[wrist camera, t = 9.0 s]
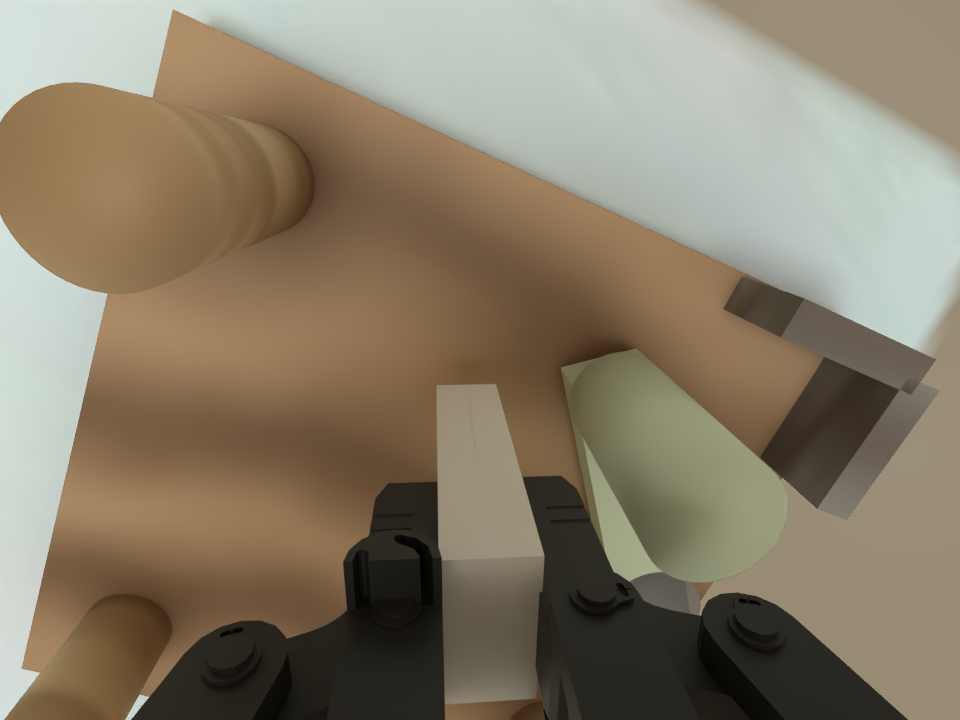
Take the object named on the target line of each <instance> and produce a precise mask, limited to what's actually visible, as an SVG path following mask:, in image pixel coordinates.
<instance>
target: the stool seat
mask: <svg viewBox="0 0 960 720" xmlns="http://www.w3.org/2000/svg"><path fill="white" fill-rule="evenodd" d="M0 215H1V217H2V219H3V221H4V223H5V224H6V226H7V228H8V229H9V231H10V233H11V234H12V235H13V237H14V238H15V239H16V241H17V242H18V243H19V244H20V246H21V247H22V248H23V249H24V250H25V251H26V252H27V253H28V254H29V255H30V256H31V257H32V258H33V259H34V260H36V261H37V262H38V263H39V264H40V265H41V266H43V267H44V268H46V269H47V270H49V271H50V272H51V273H53V274H54V275H56V276H58V277H60V278H62V279H64V280H65V281H67V282H70V283H72V284H75V285H77V286H79V287H82V288H86V289H89V290H92V291H97V292H103V293H108V295H107V299H106V303H105V308H104V312H103V316H102V321H101V325H100V330H99V334H98V338H97V343H96V347H95V351H94V356H93V360H92V364H91V369H90V373H89V378H88V382H87V386H86V391H85V395H84V399H83V404H82V408H81V412H80V417H79V421H78V425H77V430H76V434H75V439H74V443H73V447H72V452H71V456H70V460H69V465H68V469H67V473H66V478H65V482H64V486H63V491H62V495H61V500H60V504H59V508H58V513H57V517H56V521H55V526H54V530H53V534H52V539H51V543H50V547H49V552H48V556H47V561H46V565H45V569H44V574H43V578H42V582H41V587H40V591H39V595H38V600H37V604H36V608H35V613H34V617H33V622H32V626H31V630H30V635H29V639H28V643H27V648H26V652H25V656H24V661H23V665H22V669H26V670H31V671H35V672H40V674H39V676H38V677H37V678H36V679H35V681H34V682H33V683H32V685H31V686H30V687H29V688H28V690H27V691H26V692H25V694H24V695H23V696H22V697H21V699H20V700H19V701H18V703H17V704H16V705H15V707H14V708H13V709H12V710H11V712H10V713H9V714H8V716H7V717H6V718H5V719H4V720H125V719H126V717H127V716H128V714H129V712H130V710H131V708H132V707H133V705H134V703H135V701H136V699H137V698H138V696H139V694H140V695H144V696H149V697H150V696H151V694H152V693H153V692H154V691H155V689H156V688H157V687H158V686H159V684H160V683H161V682H162V681H163V679H164V678H165V677H166V676H167V674H168V673H169V672H170V671H171V669H172V668H173V667H174V666H175V664H176V663H177V662H178V661H179V659H180V658H181V657H182V656H183V654H184V653H185V652H186V651H187V650H188V649H190V648H191V647H192V646H193V645H194V644H195V643H196V642H197V641H198V640H199V639H200V638H202V637H203V636H205V635H207V634H209V633H210V632H212V631H214V630H216V629H217V628H219V627H222V626H225V625H228V624H232V623H235V622H239V621H256V620H261V621H264V622H266V623H269V624H272V625H275V626H277V628H278V629H279V630H280V631H281V632H282V633H283V634H284V635H285V636H286V639H287V638H290V637H294V636H297V635H300V634H303V633H306V632H310V631H313V630H315V629H318V628H320V627H323V626H325V625H327V624H329V623H330V622H332V621H334V620H335V619H337V618H338V617H340V616H341V615H342V614H343V613H344V612H345V611H346V610H347V603H346V592H345V581H344V570H343V561H344V559H345V557H346V555H347V553H348V551H349V549H351V548H352V547H353V546H354V545H355V544H357V543H358V542H359V541H360V540H361V539H363V538H366V537H368V536H369V533H370V526H371V520H372V514H373V509H374V503H375V498H376V497H377V496H378V495H379V493H380V492H381V491H382V490H383V489H384V488H385V486H386V485H387V484H388V483H410V482H438V472H437V386H436V385H469V384H496V386H497V390H498V393H499V397H500V400H501V404H502V408H503V411H504V415H505V418H506V422H507V425H508V429H509V432H510V436H511V439H512V443H513V446H514V450H515V454H516V457H517V461H518V464H519V468H520V471H521V475H522V477H534V476H562V477H563V478H565V479H566V480H567V481H568V482H569V483H570V484H572V485H573V486H574V487H575V488H576V489H577V490H578V492H579V495H580V497H581V499H582V501H583V504H584V508H586V510H587V513H588V515H589V517H590V522H592V521H591V516H590V511H589V506H588V501H587V496H586V491H585V486H584V481H583V476H582V471H581V466H580V461H579V456H578V452H577V447H576V442H575V437H574V432H573V427H572V422H571V417H570V412H569V407H568V402H567V397H566V392H565V387H564V383H563V378H562V373H561V368H560V367H564V366H568V365H572V364H576V363H580V362H584V361H588V360H592V359H596V358H600V357H602V356H604V355H608V354H611V353H616V352H623V351H627V350H631V349H635V348H636V349H637V350H639V351H640V352H641V353H642V354H643V355H644V356H645V357H646V358H647V359H649V360H650V361H652V362H653V363H654V364H655V365H656V366H657V367H658V368H659V369H661V370H662V371H663V372H664V373H665V374H666V375H667V376H668V377H669V378H671V379H672V380H673V381H674V382H675V383H676V384H677V385H678V386H679V387H681V388H682V389H683V390H684V391H685V392H686V393H687V394H688V395H689V396H691V397H692V398H693V399H694V400H695V401H696V402H697V403H698V404H699V405H701V406H702V407H703V408H704V409H705V410H706V411H707V412H708V413H709V414H711V415H712V416H713V417H714V418H715V419H716V420H717V421H718V422H719V423H721V424H722V425H723V426H724V427H725V428H726V429H727V430H728V431H729V432H731V433H732V434H733V435H734V436H735V437H736V438H737V439H738V440H739V441H741V442H742V443H743V444H744V445H745V446H746V447H747V448H748V449H749V450H751V451H752V452H753V453H754V454H755V455H756V456H757V457H758V458H759V459H761V460H762V461H763V462H764V463H765V464H766V465H767V466H768V467H769V468H771V469H772V470H773V471H774V472H775V473H776V474H777V476H778V477H779V478H780V480H781V479H782V478H784V479H785V480H786V481H787V482H788V483H790V485H791V486H793V487H794V488H795V489H796V490H797V491H798V492H799V493H800V494H801V495H803V496H804V497H805V498H806V499H807V500H808V501H809V502H811V503H812V504H813V505H814V506H815V507H816V508H817V509H820V510H822V511H825V512H828V513H831V514H833V515H836V516H839V517H842V518H844V519H847V518H848V517H849V516H850V514H851V513H852V512H853V510H854V509H855V507H856V506H857V504H858V503H859V502H860V500H861V499H862V498H863V496H864V495H865V494H866V492H867V491H868V489H869V488H870V487H871V485H872V484H873V482H874V481H875V480H876V478H877V477H878V475H879V474H880V473H881V471H882V470H883V469H884V467H885V466H886V464H887V463H888V462H889V460H890V459H891V457H892V456H893V455H894V453H895V452H896V451H897V449H898V448H899V446H900V445H901V444H902V442H903V441H904V439H905V438H906V437H907V435H908V434H909V432H910V431H911V430H912V428H913V427H914V426H915V424H916V423H917V421H918V420H919V419H920V417H921V416H922V414H923V413H924V412H925V410H926V409H927V408H928V406H929V405H930V403H931V402H932V401H933V399H934V398H935V396H936V395H937V394H938V392H939V391H938V390H936V389H934V388H931V387H929V386H927V385H925V384H922V383H920V381H921V380H922V379H923V377H924V376H925V374H926V373H927V372H928V370H929V369H930V367H931V366H932V365H933V363H934V362H935V360H936V359H934V358H931V357H929V356H927V355H925V354H923V353H921V352H918V351H916V350H914V349H912V348H910V347H908V346H905V345H903V344H901V343H899V342H897V341H895V340H893V339H890V338H888V337H886V336H884V335H882V334H880V333H877V332H875V331H873V330H871V329H869V328H867V327H864V326H862V325H860V324H858V323H856V322H854V321H851V320H849V319H847V318H845V317H843V316H841V315H839V314H836V313H834V312H832V311H830V310H828V309H826V308H823V307H821V306H819V305H817V304H815V303H813V302H810V301H808V300H806V299H804V298H801V297H798V296H796V295H793V294H790V293H787V292H784V291H782V290H779V289H777V288H775V287H772V286H770V285H768V284H766V283H764V282H762V281H759V280H757V279H755V278H753V277H751V276H749V275H747V274H744V273H742V272H740V271H738V270H736V269H734V268H731V267H729V266H727V265H725V264H723V263H721V262H718V261H716V260H714V259H712V258H710V257H708V256H705V255H703V254H701V253H699V252H697V251H695V250H692V249H690V248H688V247H686V246H684V245H682V244H679V243H677V242H675V241H673V240H671V239H669V238H666V237H664V236H662V235H660V234H658V233H656V232H653V231H651V230H649V229H647V228H645V227H643V226H640V225H638V224H636V223H634V222H632V221H630V220H627V219H625V218H623V217H621V216H619V215H617V214H615V213H612V212H610V211H608V210H606V209H604V208H602V207H599V206H597V205H595V204H593V203H591V202H589V201H586V200H584V199H582V198H580V197H578V196H576V195H573V194H571V193H569V192H567V191H565V190H563V189H560V188H558V187H556V186H554V185H552V184H550V183H547V182H545V181H543V180H541V179H539V178H537V177H534V176H532V175H530V174H528V173H526V172H524V171H521V170H519V169H517V168H515V167H513V166H511V165H508V164H506V163H504V162H502V161H500V160H498V159H495V158H493V157H491V156H489V155H487V154H485V153H483V152H480V151H478V150H476V149H474V148H472V147H470V146H467V145H465V144H463V143H461V142H459V141H457V140H454V139H452V138H450V137H448V136H446V135H444V134H441V133H439V132H437V131H435V130H433V129H431V128H428V127H426V126H424V125H422V124H420V123H418V122H415V121H413V120H411V119H409V118H407V117H405V116H402V115H400V114H398V113H396V112H394V111H392V110H389V109H387V108H385V107H383V106H381V105H379V104H376V103H374V102H372V101H370V100H368V99H366V98H363V97H361V96H359V95H357V94H355V93H353V92H351V91H348V90H346V89H344V88H342V87H340V86H338V85H335V84H333V83H331V82H329V81H327V80H325V79H322V78H320V77H318V76H316V75H314V74H312V73H309V72H307V71H305V70H303V69H301V68H299V67H296V66H294V65H292V64H290V63H288V62H286V61H283V60H281V59H279V58H277V57H275V56H273V55H270V54H268V53H266V52H264V51H262V50H260V49H257V48H255V47H253V46H251V45H249V44H247V43H244V42H242V41H240V40H238V39H236V38H234V37H231V36H229V35H227V34H225V33H223V32H221V31H219V30H216V29H214V28H212V27H210V26H208V25H206V24H203V23H201V22H199V21H197V20H195V19H193V18H190V17H188V16H186V15H184V14H182V13H180V12H177V11H175V10H173V11H172V16H171V20H170V25H169V29H168V33H167V38H166V42H165V46H164V51H163V55H162V59H161V64H160V68H159V72H158V77H157V81H156V86H155V90H154V94H153V98H150V97H146V96H142V95H138V94H134V93H129V92H125V91H121V90H117V89H113V88H109V87H104V86H100V85H95V84H89V83H78V82H76V83H61V84H55V85H50V86H47V87H44V88H41V89H38V90H36V91H34V92H32V93H30V94H28V95H27V96H25V97H23V98H22V99H21V100H20V101H18V102H17V103H16V104H15V105H13V107H12V108H11V109H10V110H9V111H8V112H7V113H6V114H5V116H4V117H3V119H2V121H1V122H0ZM692 583H693V584H694V586H695V588H696V589H697V591H698V594H699V597H700V601H701V599H702V598H703V596H704V595H705V593H706V592H707V590H708V589H709V587H710V586H711V584H712V583H713V582H692ZM542 712H543V702H542V697H541V692H540V687H539V682H538V677H537V695H536V699H523V700H508V701H492V702H477V703H461V704H446V705H445V720H542Z"/></svg>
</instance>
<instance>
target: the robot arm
mask: <svg viewBox="0 0 960 720" xmlns="http://www.w3.org/2000/svg"><path fill="white" fill-rule="evenodd" d="M436 386H437V472H438V482H410V483H388V484H387V485H386V486H385V488H384V489H383V490H382V491H381V492H380V493H379V495H378V496H377V497H376V498H375V503H374V509H373V514H372V520H371V526H370V533H369V536H368V537H366V538H363V539H361V540H360V541H359V542H358V543H357V544H355V545H354V546H353V547H352V548H351V549H349V551H348V553H347V555H346V557H345V559H344V561H343V570H344V581H345V592H346V603H347V610H346V611H345V612H344V613H343V614H342V615H341V616H340V617H338V618H337V619H335V620H334V621H332V622H330V623H329V624H327V625H325V626H323V627H320V628H318V629H315V630H313V631H310V632H306V633H303V634H300V635H297V636H294V637H290V638H287V639H286V636H285V635H284V634H283V633H282V632H281V631H280V630H279V629H278V628H277V626H275V625H272V624H269V623H266V622H264V621H261V620H256V621H239V622H235V623H232V624H228V625H225V626H222V627H219V628H217V629H216V630H214V631H212V632H210V633H209V634H207V635H205V636H203V637H202V638H200V639H199V640H198V641H197V642H196V643H195V644H194V645H193V646H192V647H191V648H190V649H188V650H187V651H186V652H185V653H184V654H183V656H182V657H181V658H180V659H179V661H178V662H177V663H176V664H175V666H174V667H173V668H172V669H171V671H170V672H169V673H168V674H167V676H166V677H165V678H164V679H163V681H162V682H161V683H160V684H159V686H158V687H157V688H156V689H155V691H154V692H153V693H152V694H151V696H150V697H149V698H148V699H147V701H146V702H145V703H144V704H143V706H142V707H141V708H140V709H139V711H138V712H137V713H136V714H135V716H134V717H133V718H132V719H131V720H445V705H446V704H461V703H477V702H492V701H508V700H523V699H536V695H537V677H538V682H539V687H540V692H541V697H542V702H543V712H542V720H908V719H906V718H905V717H904V716H903V715H902V714H901V713H900V712H899V711H898V710H896V709H895V708H894V707H893V706H892V705H891V704H889V702H888V701H886V700H885V699H884V698H883V697H882V696H881V695H880V694H879V693H877V692H876V691H875V690H874V689H873V688H872V687H871V686H870V685H869V684H868V683H866V682H865V681H864V680H863V679H862V678H861V677H860V676H859V675H857V674H856V673H855V672H854V671H853V670H852V669H851V668H850V667H849V666H847V665H846V664H845V663H844V662H843V661H842V660H841V659H840V658H839V657H837V656H836V655H835V654H834V653H833V652H832V651H831V650H830V649H828V648H827V647H826V646H825V645H824V644H823V643H822V642H821V641H820V640H818V639H817V638H816V637H815V636H814V635H813V634H812V633H811V632H810V631H808V630H807V629H806V628H805V627H804V626H803V625H802V624H801V623H799V622H798V621H797V620H796V619H795V618H794V617H793V616H791V615H790V614H788V613H787V612H786V611H784V610H783V609H781V608H780V607H778V606H777V605H775V604H773V603H771V602H769V601H766V600H763V599H761V598H759V597H757V596H752V595H747V594H741V593H728V594H720V595H718V596H716V597H714V598H712V599H710V600H708V602H707V604H706V605H705V607H704V609H703V611H702V616H699V615H694V614H689V613H684V612H679V611H674V610H669V609H665V608H662V607H658V606H655V605H652V604H650V603H648V602H646V601H643V599H642V597H641V595H640V594H639V592H638V591H637V590H636V588H635V587H634V586H633V584H632V583H631V582H629V581H628V580H626V579H625V578H623V577H622V576H621V575H619V574H618V573H615V572H614V571H613V569H612V567H611V565H610V562H609V560H608V558H607V556H606V553H605V551H604V549H603V547H602V544H601V542H600V540H599V537H598V535H597V533H596V531H595V528H594V526H593V524H592V522H590V517H589V515H588V513H587V510H586V508H584V504H583V501H582V499H581V497H580V495H579V492H578V490H577V489H576V488H575V487H574V486H573V485H572V484H570V483H569V482H568V481H567V480H566V479H565V478H563V477H562V476H534V477H522V475H521V471H520V468H519V464H518V461H517V457H516V454H515V450H514V446H513V443H512V439H511V436H510V432H509V429H508V425H507V422H506V418H505V415H504V411H503V408H502V404H501V400H500V397H499V393H498V390H497V386H496V384H469V385H436Z"/></svg>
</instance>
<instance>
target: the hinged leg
mask: <svg viewBox="0 0 960 720" xmlns="http://www.w3.org/2000/svg"><path fill="white" fill-rule="evenodd" d="M560 368H561V373H562V378H563V383H564V387H565V392H566V397H567V402H568V407H569V412H570V417H571V422H572V427H573V432H574V437H575V442H576V447H577V452H578V456H579V461H580V466H581V471H582V476H583V481H584V486H585V491H586V496H587V501H588V506H589V511H590V516H591V521H592V524H593V526H594V528H595V531H596V533H597V535H598V537H599V540H600V542H601V544H602V547H603V549H604V551H605V553H606V556H607V558H608V560H609V562H610V565H611V567H612V569H613V571H614V572H615V573H618V574H619V575H621V576H622V577H623V578H625V579H626V580H628V581H629V582H631V583H632V584H633V586H634V587H635V588H636V590H637V591H638V592H639V594H640V595H641V597H642V599H643V601H646V602H648V603H650V604H652V605H655V606H658V607H662V608H665V609H669V610H674V611H679V612H684V613H689V614H694V615H698V614H699V610H700V597H699V594H698V591H697V589H696V588H695V586H694V584H693V583H692V582H713V581H718V580H722V579H726V578H729V577H732V576H734V575H737V574H739V573H741V572H743V571H745V570H746V569H748V568H750V567H751V566H753V565H754V564H755V563H757V562H758V561H759V560H760V559H762V558H763V557H764V556H765V555H766V554H767V553H768V552H769V551H770V550H771V548H772V547H773V546H774V545H775V543H776V541H777V540H778V538H779V537H780V535H781V533H782V531H783V528H784V525H785V522H786V519H787V513H788V499H787V494H786V491H785V487H784V485H783V483H782V481H781V480H780V478H779V477H778V476H777V474H776V473H775V472H774V471H773V470H772V469H771V468H769V467H768V466H767V465H766V464H765V463H764V462H763V461H762V460H761V459H759V458H758V457H757V456H756V455H755V454H754V453H753V452H752V451H751V450H749V449H748V448H747V447H746V446H745V445H744V444H743V443H742V442H741V441H739V440H738V439H737V438H736V437H735V436H734V435H733V434H732V433H731V432H729V431H728V430H727V429H726V428H725V427H724V426H723V425H722V424H721V423H719V422H718V421H717V420H716V419H715V418H714V417H713V416H712V415H711V414H709V413H708V412H707V411H706V410H705V409H704V408H703V407H702V406H701V405H699V404H698V403H697V402H696V401H695V400H694V399H693V398H692V397H691V396H689V395H688V394H687V393H686V392H685V391H684V390H683V389H682V388H681V387H679V386H678V385H677V384H676V383H675V382H674V381H673V380H672V379H671V378H669V377H668V376H667V375H666V374H665V373H664V372H663V371H662V370H661V369H659V368H658V367H657V366H656V365H655V364H654V363H653V362H652V361H650V360H649V359H647V358H646V357H645V356H644V355H643V354H642V353H641V352H640V351H639V350H637V349H636V348H635V349H631V350H627V351H623V352H616V353H611V354H608V355H604V356H602V357H600V358H596V359H592V360H588V361H584V362H580V363H576V364H572V365H568V366H564V367H560Z"/></svg>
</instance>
